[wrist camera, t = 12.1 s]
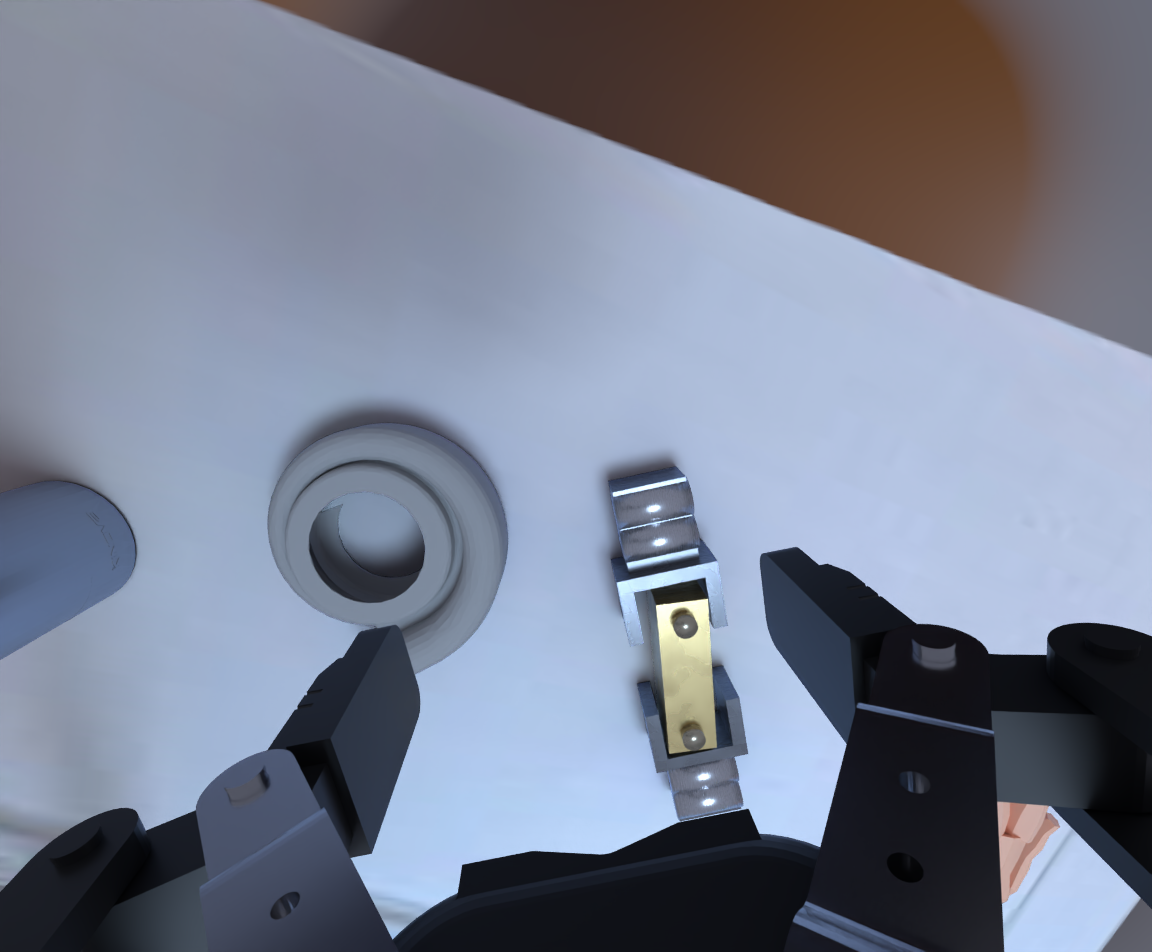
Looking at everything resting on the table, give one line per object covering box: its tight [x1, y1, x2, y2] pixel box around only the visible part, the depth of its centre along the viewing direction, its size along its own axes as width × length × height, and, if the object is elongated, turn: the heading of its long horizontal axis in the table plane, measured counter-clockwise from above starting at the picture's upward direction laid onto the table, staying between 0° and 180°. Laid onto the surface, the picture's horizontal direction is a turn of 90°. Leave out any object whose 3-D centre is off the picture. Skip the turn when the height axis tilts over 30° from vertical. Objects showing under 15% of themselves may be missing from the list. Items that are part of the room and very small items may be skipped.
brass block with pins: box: [646, 579, 717, 754], centre depth 41 cm, size 4×12×6 cm, turn 7°
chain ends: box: [608, 467, 748, 821], centre depth 41 cm, size 7×28×4 cm, turn 12°
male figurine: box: [997, 802, 1060, 903], centre depth 47 cm, size 11×5×25 cm
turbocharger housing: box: [268, 423, 508, 674], centre depth 38 cm, size 17×6×15 cm
